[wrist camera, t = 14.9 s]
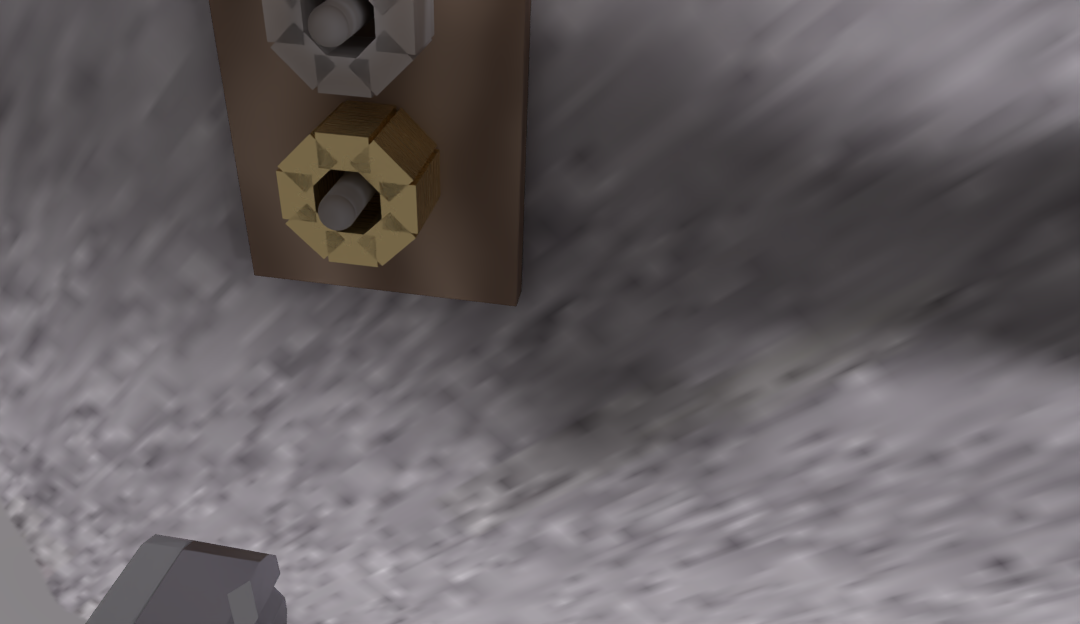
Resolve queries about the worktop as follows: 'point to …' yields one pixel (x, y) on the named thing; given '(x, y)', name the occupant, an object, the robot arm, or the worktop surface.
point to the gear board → (411, 84)
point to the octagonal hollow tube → (383, 160)
